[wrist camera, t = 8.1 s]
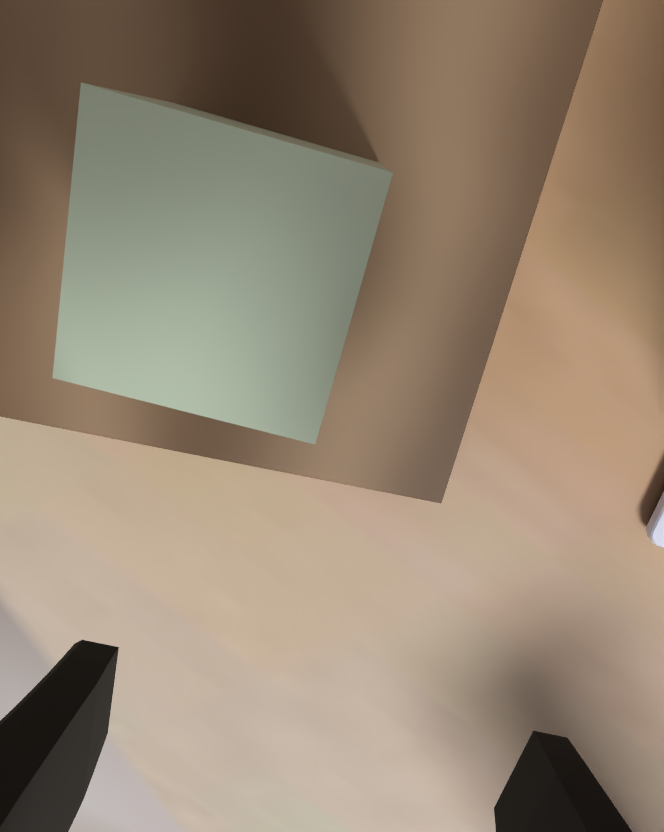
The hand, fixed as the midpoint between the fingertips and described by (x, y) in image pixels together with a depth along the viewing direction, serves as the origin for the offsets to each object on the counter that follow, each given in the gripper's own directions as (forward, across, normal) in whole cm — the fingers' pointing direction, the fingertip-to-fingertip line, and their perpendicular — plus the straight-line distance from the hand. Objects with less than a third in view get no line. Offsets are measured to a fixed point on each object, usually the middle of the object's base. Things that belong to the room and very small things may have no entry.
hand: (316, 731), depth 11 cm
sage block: (+7, +3, -7) cm, 10 cm away
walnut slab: (+10, +3, -7) cm, 13 cm away
